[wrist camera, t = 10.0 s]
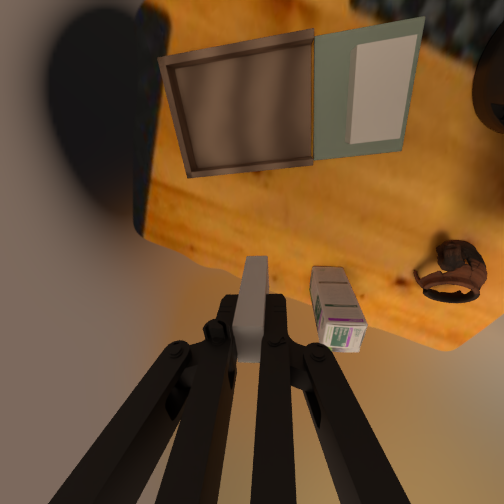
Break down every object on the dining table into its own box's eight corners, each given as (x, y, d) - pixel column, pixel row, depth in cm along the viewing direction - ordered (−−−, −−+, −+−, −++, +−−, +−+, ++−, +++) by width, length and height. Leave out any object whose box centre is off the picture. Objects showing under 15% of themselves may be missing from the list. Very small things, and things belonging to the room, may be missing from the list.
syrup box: (311, 265, 45) (323, 323, 32) (344, 266, 44) (369, 326, 32) (309, 289, 48) (319, 351, 35) (339, 290, 47) (360, 354, 34)
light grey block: (404, 41, 28) (417, 34, 25) (390, 136, 32) (399, 138, 30) (350, 51, 28) (357, 44, 26) (344, 141, 33) (350, 144, 31)
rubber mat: (423, 17, 27) (425, 16, 26) (400, 150, 34) (401, 151, 33) (314, 37, 29) (314, 36, 28) (313, 159, 35) (313, 160, 35)
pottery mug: (483, 264, 42) (491, 307, 38) (418, 267, 48) (419, 304, 44) (480, 219, 35) (490, 266, 31) (405, 229, 41) (404, 270, 37)
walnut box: (309, 38, 29) (313, 27, 25) (310, 160, 35) (313, 165, 32) (170, 64, 31) (157, 57, 28) (195, 172, 38) (187, 178, 35)
